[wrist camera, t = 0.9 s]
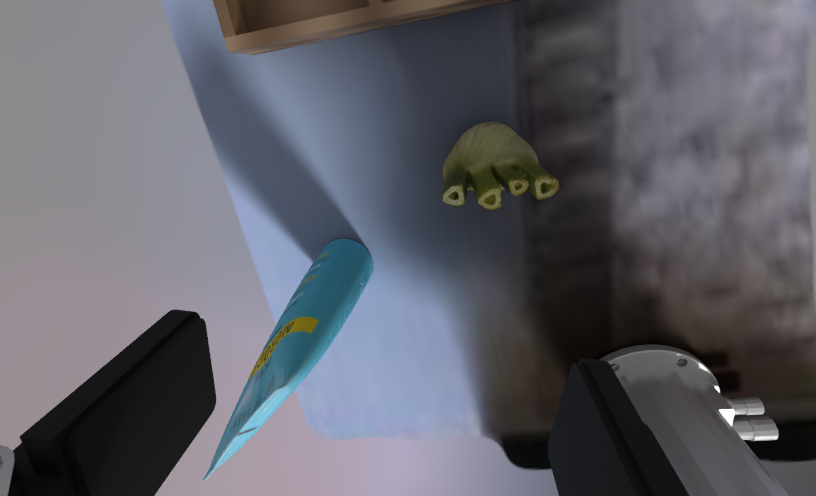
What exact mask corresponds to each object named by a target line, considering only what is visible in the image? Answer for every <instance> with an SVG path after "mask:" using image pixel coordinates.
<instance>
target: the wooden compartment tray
mask: <svg viewBox="0 0 816 496" xmlns="http://www.w3.org/2000/svg"><path fill="white" fill-rule="evenodd" d="M510 1H515V0H213V2H214V5H215V8H216V12H217V15H218V19H219V22H220V25H221V29H222V32H223V35H224V39H225V42H226V45H227V49H228V51H229V52H236V53H242V54H249V55H256V54H261V53H266V52H271V51H275V50H280V49H285V48H290V47H295V46H299V45H304V44H309V43H314V42H318V41H323V40H328V39H333V38H338V37H342V36H347V35H352V34H357V33H362V32H366V31H371V30H376V29H381V28H385V27H390V26H395V25H400V24H405V23H409V22H414V21H419V20H424V19H428V18H433V17H438V16H443V15H448V14H452V13H457V12H462V11H467V10H472V9H476V8H481V7H486V6H491V5H495V4H500V3H505V2H510Z"/></svg>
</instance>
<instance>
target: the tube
mask: <svg viewBox="0 0 816 496" xmlns="http://www.w3.org/2000/svg"><path fill="white" fill-rule="evenodd" d="M372 271H373V261H372V258H371V256H370V254H369V252H368V251H367V249H366V248H365V247H364V246H362V245H361V244H360V243H358V242H356V241H353V240H350V239H337V240H334V241H331V242H330V243H328V244H327V245H326V246H325V247H324V248H323V249H322V251H321V252H320V253H319V255H318V257H317V258H316V260H315V261H314V263H313V264H312V266H311V267H310V269H309V270H308V272H307V273H306V275H305V277H304V278H303V280H302V281H301V283H300V285H299V286H298V288H297V290H296V291H295V293H294V294H293V296H292V298H291V300H290V302H289V303H288V305H287V307H286V309H285V311H284V312H283V314H282V316H281V318H280V319H279V321H278V323H277V325H276V327H275V329H274V331H273V332H272V334H271V336H270V338H269V340H268V342H267V344H266V346H265V347H264V349H263V351H262V353H261V355H260V357H259V359H258V361H257V363H256V365H255V367H254V369H253V371H252V373H251V375H250V377H249V379H248V382H247V384H246V386H245V388H244V390H243V392H242V394H241V397H240V399H239V401H238V403H237V405H236V408H235V409H234V411H233V414H232V416H231V418H230V421H229V423H228V425H227V427H226V429H225V432H224V434H223V436H222V439H221V441H220V444H219V446H218V448H217V450H216V453H215V456H214V458H213V461H212V463H211V466H210V468H209V471H208V472H207V474H206V476H205V478H204V482H205V481H206V479H207V478H208V477H209V476H210V475H211V473H212V472H213V471H214V470H215V469H217V468H218V467H219V466H220V465H221V464H223V463H224V462H225V461H226V460H227V459H228V458H229V457H231V456H232V455H233V454H234V453H235V452H236V451H237V450H238V449H240V448H241V447H242V446H243V445H244V444H245V443H246V442H247V441H248V440H249V439H250V438H251V437H252V436H253V435H254V434H255V433H256V431H257V430H258V429H259V428H260V427H261V426H262V425H263V424H264V423H265V422H266V421H267V419H269V417H270V416H271V415H272V414H273V413H274V412H275V410H276V409H277V408H278V407H279V406H280V405H281V404H282V403H283V402H284V401H285V400H286V398H287V397H288V396H289V395H290V394H291V393H292V392H293V391H294V390H295V389H296V387H297V386H298V385H299V384H300V383H301V382H302V381H303V380H304V379H305V377H306V376H307V375H308V374H309V373H310V371H311V370H312V369H313V368H314V366H315V365H316V364H317V362H318V361H319V360H320V359H321V357H322V356H323V355H324V353H325V352H326V350H327V349H328V348H329V346H330V345H331V343H332V342H333V340H334V339H335V337H336V336H337V334H338V333H339V331H340V329H341V328H342V326H343V325H344V323H345V321H346V320H347V318H348V316H349V315H350V313H351V311H352V310H353V308H354V306H355V304H356V303H357V301H358V299H359V297H360V295H361V294H362V292H363V290H364V288H365V286H366V285H367V283H368V281H369V279H370V277H371V274H372Z"/></svg>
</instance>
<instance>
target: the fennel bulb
mask: <svg viewBox="0 0 816 496" xmlns="http://www.w3.org/2000/svg"><path fill="white" fill-rule="evenodd" d="M442 176H443V180H444V190H443V194H442V201H443V202H444V203H446V204H450V205H452V206H453V207H459V206H462V205H464V203H465V200H466V195H467V190H471V191H474V192H475V196H476V199H477V201H478V204H479V205H481V206H482V207H484V208H486V209H489V210H491V211H494V210H497V209H499V208H501V206H502V205H501V190H504V189H507V191H508V192H510V193H511V194H512V195H513V196H519V195H521V194H523V193H525V191H527V190H528V191H529V192H530V193H532V194H533V196H535V197H536V198H537V199H538V200H542V199H548V198H550V197H551V196H553V195H554V194H555V193H556V192H557V191H558V190H559V188H560V186H559V182H558V179H557V178H555V177H554V176H552V175H551V174H550V173H548V172H546V171H545V170H544V169H543V168H541V167H540V166H539V162H538V158H537V155H536V153H535V151H534V150H533V148H532V147H531V146H530V145H529V144H528V143H527V142H526V141H525V140H524V139H522V138H521V137H520V136H519V135H518V134H517V133H516V132H515V131H514V130H513V129H512V128H511V127H509V126H508V125H506V124H503V123H500V122H495V121H487V122H483V123H479V124H476V125H474V126H473V127H471V128H469V129H468V130H466V131H465V132H464V133H463V134H462V135H461V137H460V138H459V139H458V140H457V142H456V143H455V144H454V146H453V148H452V150H451V151H450V153H449V155H448V156H447V158H446V160H445V162H444V165H443V170H442Z"/></svg>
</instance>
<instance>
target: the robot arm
mask: <svg viewBox="0 0 816 496" xmlns="http://www.w3.org/2000/svg"><path fill="white" fill-rule="evenodd" d="M215 404H216V393H215V386H214V379H213V372H212V365H211V359H210V352H209V345H208V337H207V331H206V324H205V321H204V320H203V319H202V318H200V316H199V315H198V313H196V312H191V311H183V310H171V311H169V312H168V313H167V314H166V315H165V316H163V317H162V318H161V319H160V320H158V321H157V322H156V323H155V324H154V325H153V326H151V327H150V328H149V329H148V330H146V331H145V332H144V333H143V334H142V335H140V336H139V337H138V338H137V339H136V340H135V341H134V342H132V343H131V344H130V345H129V346H127V347H126V348H125V349H124V350H123V351H122V352H120V353H119V354H118V355H117V356H115V357H114V358H113V359H112V360H111V361H109V362H108V363H107V364H106V365H105V366H104V367H102V368H101V369H100V370H99V371H97V372H96V373H95V374H94V375H93V376H92V377H90V378H89V379H88V380H87V381H86V382H84V383H83V384H82V385H81V386H80V387H78V388H77V389H76V390H75V391H74V392H72V393H71V394H70V395H69V396H68V397H66V398H65V399H64V400H63V401H62V402H60V403H59V404H58V405H57V406H56V407H55V408H53V409H52V410H51V411H50V412H49V413H47V414H46V415H45V416H44V417H43V418H41V419H40V420H39V421H38V422H37V423H35V424H34V425H33V426H32V427H31V428H30V429H28V430H27V431H26V432H25V433H24V434H23V435H21V436H20V438H21V441H22V443H21V444H20V445H19V446H18V447H17V448H15V449H14V450H13V451H12V450H11V449H9V448H8V447H6V446H1V445H0V496H154V495H155V494H156V492H157V491H158V489H159V488H160V487H161V485H162V484H163V482H164V481H165V479H166V478H167V477H168V475H169V474H170V472H171V471H172V469H173V468H174V467H175V465H176V464H177V462H178V461H179V459H180V458H181V457H182V455H183V454H184V452H185V451H186V450H187V448H188V447H189V445H190V444H191V442H192V441H193V440H194V438H195V437H196V435H197V434H198V432H199V431H200V430H201V428H202V427H203V425H204V424H205V422H206V421H207V420H208V418H209V417H210V415H211V414H212V412H213V410H214V408H215ZM763 413H764V406H763V403H762V402H761V400H760V399H759V398H757V397H749V398H738V399H728V398H727V397H725V396H722V395H721V394H720V388H719V385H718V382H717V380H716V378H715V377H714V375H713V374H712V372H711V371H710V370H709V369H708V368H707V367H706V366H705V365H704V363H703V362H702V361H701V360H699V359H698V358H696V357H695V356H694V355H692V354H690V353H688V352H686V351H684V350H681V349H679V348H675V347H671V346H666V345H654V344H649V345H636V346H632V347H628V348H623V349H620V350H618V351H615V352H612V353H610V354H608V355H606V356H604V357H603V358H601V359H599V360H594V359H586V358H582V359H581V360H580V361H579V363H578V364H577V363H574V364H572V366H571V368H570V372H569V375H568V378H567V382H566V385H565V388H564V392H563V395H562V398H561V402H560V405H559V408H558V412H557V415H556V418H555V422H554V425H553V428H552V432H551V435H550V438H549V442H548V456H549V460H550V464H551V468H552V471H553V475H554V479H555V482H556V486H557V489H558V493H559V496H788V495H787V493H786V492H785V491H784V490H783V488H782V487H781V486H780V485H779V483H778V482H777V481H776V480H775V479H774V477H773V476H772V475H771V474H770V473H769V471H768V470H767V469H766V468H765V466H764V465H763V464H762V463H761V461H760V460H759V459H758V458H757V457H756V455H755V454H754V453H753V452H752V450H751V449H750V448H749V447H748V446H747V444H746V443H745V442H744V441H743V440H750V441H763V440H776V439H777V438H778V430H777V427H776V425H775V423H774V422H773V420H772V419H771V418H769V417H768V416H748V417H741V418H733V417H734V415H739V414H743V415H756V414H763Z"/></svg>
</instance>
